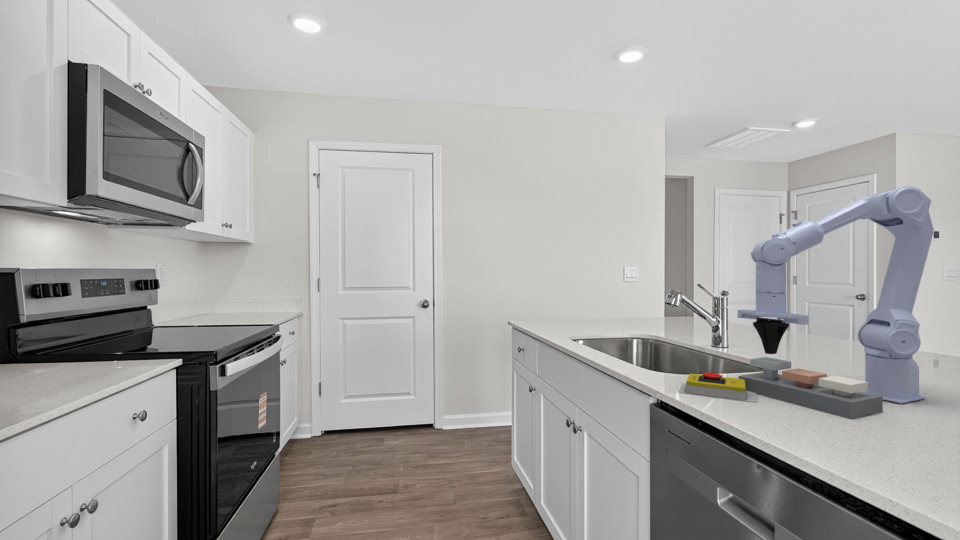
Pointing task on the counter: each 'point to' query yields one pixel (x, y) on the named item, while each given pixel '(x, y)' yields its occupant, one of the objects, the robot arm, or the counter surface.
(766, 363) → the slate key
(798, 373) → the terracotta key
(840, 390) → the ivory key
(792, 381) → the key console
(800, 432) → the counter surface
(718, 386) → the emergency button
